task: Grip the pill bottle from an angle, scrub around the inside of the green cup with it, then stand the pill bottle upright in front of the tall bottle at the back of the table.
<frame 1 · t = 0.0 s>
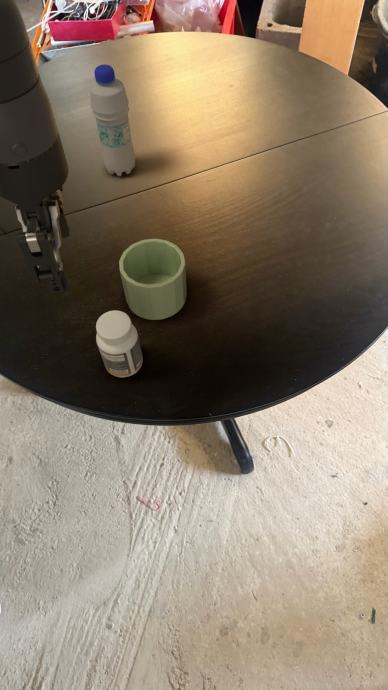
hand: (60, 262, 55), 20 cm above the table, tool pointing down, fingers open, 8 cm apart
green cup: (156, 295, 78), on the table
bottle: (121, 169, 96), on the table
pill bottle: (124, 363, 71), on the table
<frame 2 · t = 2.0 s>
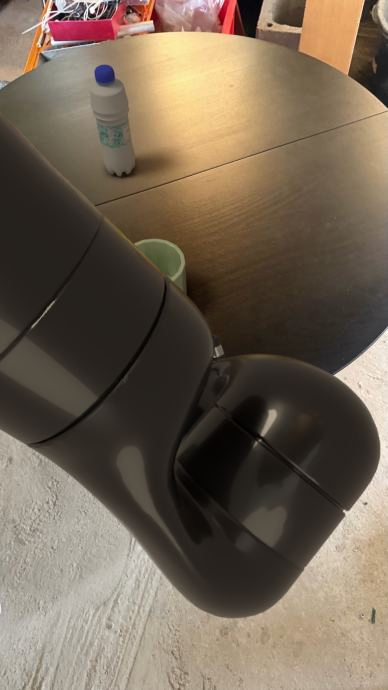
hand: (135, 360, 51), 17 cm above the table, tool tilted 45°, fingers open, 8 cm apart
nothing on the table moved.
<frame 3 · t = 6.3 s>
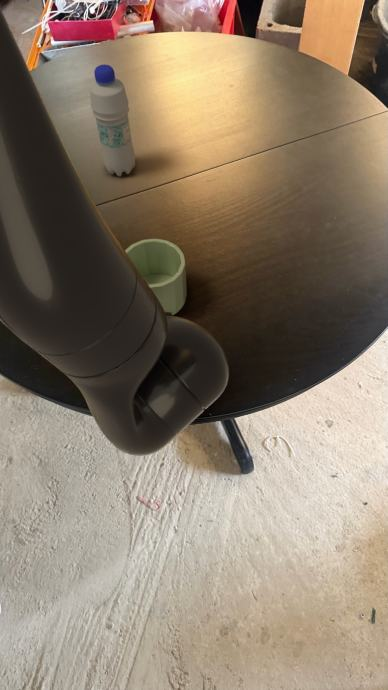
hand: (113, 329, 66), 6 cm above the table, tool tilted 45°, fingers closed on pill bottle, 5 cm apart
pill bottle: (124, 363, 71), on the table, touching gripper
everything else where it was.
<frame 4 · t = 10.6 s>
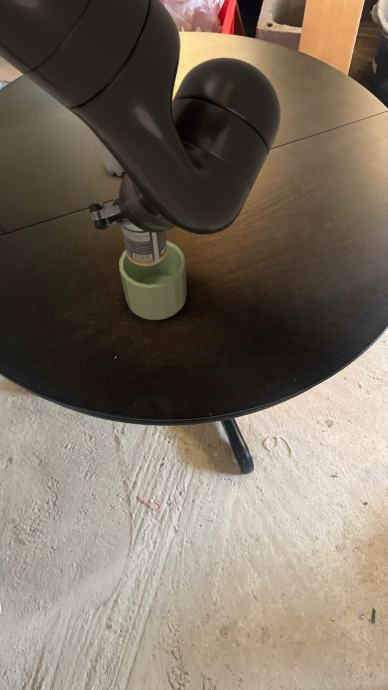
hand: (137, 210, 63), 18 cm above the table, tool tilted 45°, fingers closed on pill bottle, 5 cm apart
pill bottle: (147, 254, 67), point 11 cm above the table, touching gripper
everything else where it was.
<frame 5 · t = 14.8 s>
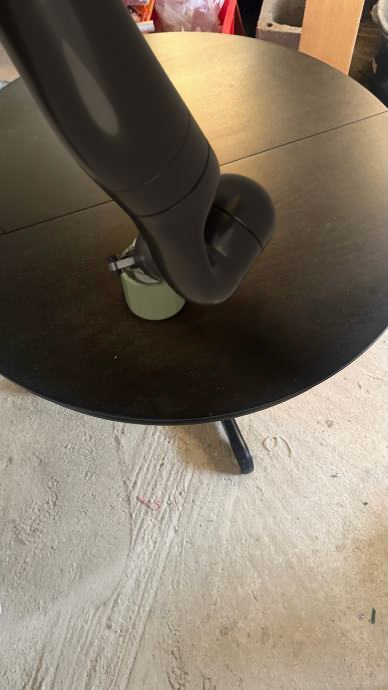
hand: (147, 254, 70), 10 cm above the table, tool tilted 45°, fingers closed on pill bottle, 5 cm apart
pill bottle: (155, 290, 74), point 3 cm above the table, touching gripper
everything else where it was.
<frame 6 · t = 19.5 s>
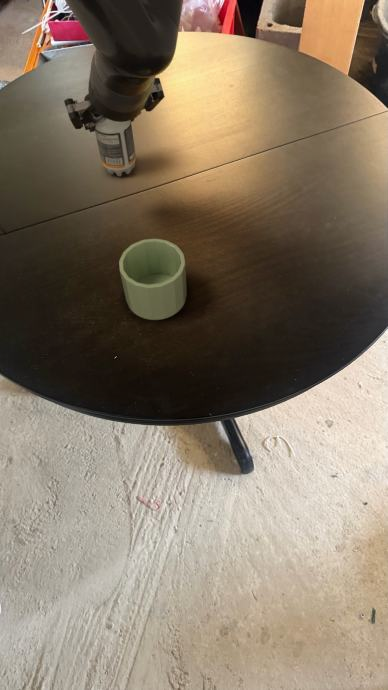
hand: (109, 120, 74), 18 cm above the table, tool tilted 45°, fingers closed on pill bottle, 5 cm apart
pill bottle: (119, 162, 78), point 12 cm above the table, touching gripper
everything else where it was.
when the fingers open (6 cm above the table, at t = 23.4 s): pill bottle stays where it is, on the table.
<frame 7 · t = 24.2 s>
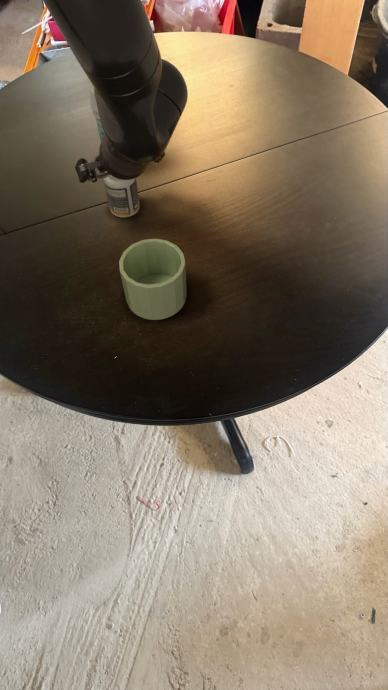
hand: (115, 170, 84), 8 cm above the table, tool tilted 45°, fingers open, 8 cm apart
pill bottle: (125, 209, 90), on the table
everything else where it was.
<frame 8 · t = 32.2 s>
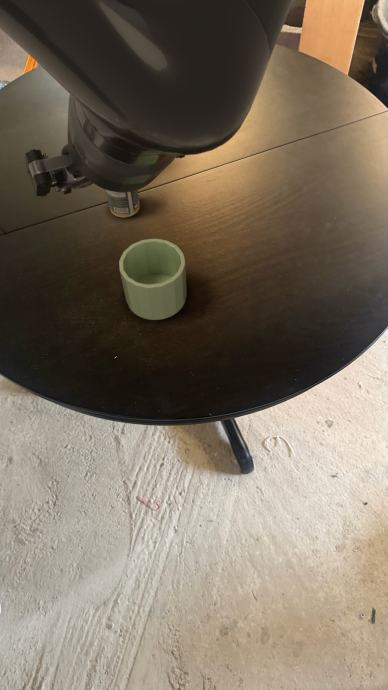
hand: (105, 171, 47), 31 cm above the table, tool tilted 45°, fingers open, 8 cm apart
nothing on the table moved.
at the end: pill bottle 12.1 cm from the bottle (horizontally); pill bottle tilted 0°; bottle moved 0.2 cm from its start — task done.
